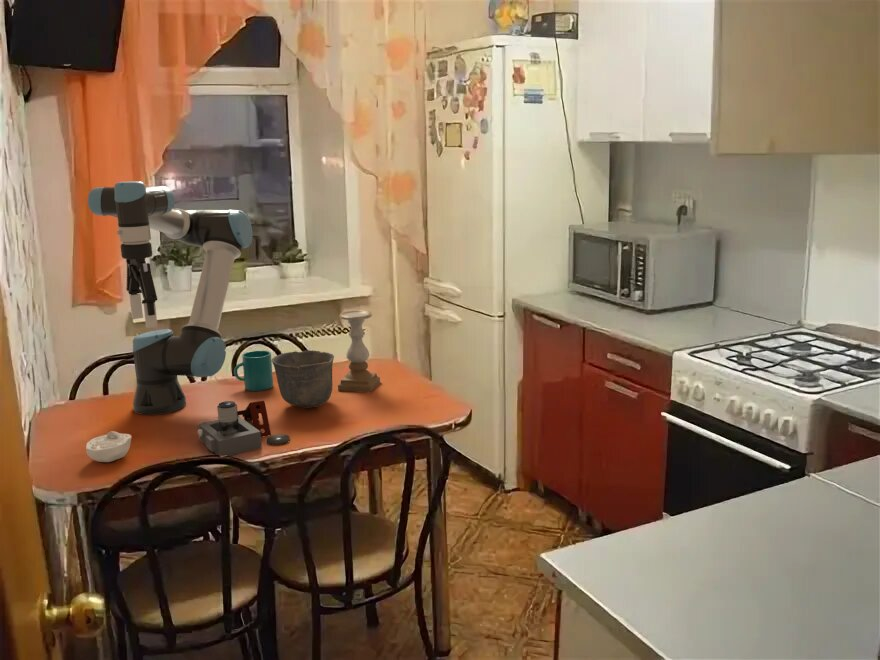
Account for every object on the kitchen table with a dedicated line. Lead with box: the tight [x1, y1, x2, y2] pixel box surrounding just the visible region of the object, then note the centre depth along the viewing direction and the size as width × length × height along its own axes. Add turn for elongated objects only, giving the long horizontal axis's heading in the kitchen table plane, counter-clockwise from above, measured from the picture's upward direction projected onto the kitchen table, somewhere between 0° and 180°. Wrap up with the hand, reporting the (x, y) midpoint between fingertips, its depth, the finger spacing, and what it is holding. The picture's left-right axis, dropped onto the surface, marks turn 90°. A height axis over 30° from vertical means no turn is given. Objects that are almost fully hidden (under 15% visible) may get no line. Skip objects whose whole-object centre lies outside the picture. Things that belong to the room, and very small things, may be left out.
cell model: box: [85, 430, 132, 463], centre depth 211 cm, size 10×12×7 cm
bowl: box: [271, 349, 335, 409], centre depth 247 cm, size 18×18×15 cm
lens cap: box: [266, 433, 291, 446], centre depth 221 cm, size 6×6×1 cm
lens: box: [217, 400, 239, 436], centre depth 218 cm, size 5×5×9 cm
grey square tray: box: [197, 415, 263, 457], centre depth 219 cm, size 16×12×4 cm
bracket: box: [237, 400, 272, 438], centre depth 231 cm, size 10×14×10 cm
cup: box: [233, 350, 274, 392], centre depth 266 cm, size 9×12×11 cm
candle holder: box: [337, 310, 381, 393], centre depth 264 cm, size 11×11×24 cm
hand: (144, 322), depth 219 cm, fingers open, 13 cm apart
